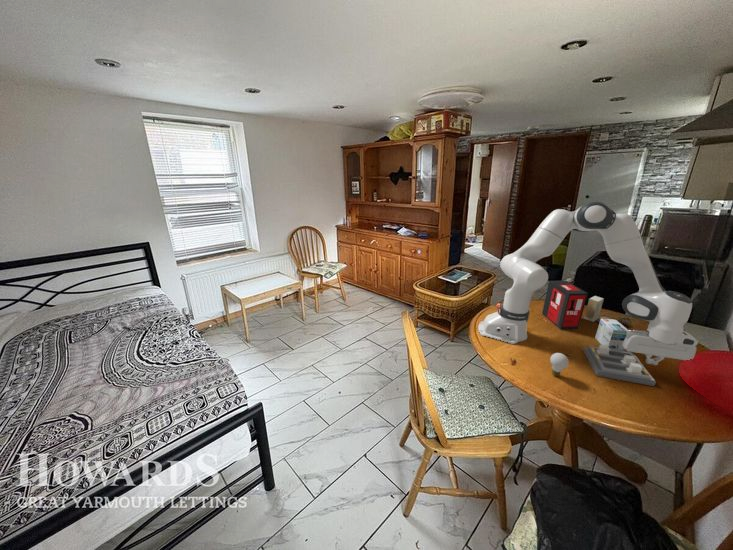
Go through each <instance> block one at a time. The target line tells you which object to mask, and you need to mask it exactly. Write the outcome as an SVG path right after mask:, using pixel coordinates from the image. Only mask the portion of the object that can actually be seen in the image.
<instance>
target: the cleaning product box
mask: <svg viewBox="0 0 733 550" xmlns="http://www.w3.org/2000/svg"><path fill="white" fill-rule="evenodd" d="M588 295H589V293H588V292H586V291H584V290H583V289H582V288H580V287H577V286H576V285H575V284H573V283H571V282H569V281H567V280H549V281H548V284H547V289H546V293H545V299H544V302H543V307H542V312H541V314H542V315H543V316H544V317H545V318H546V317H547V318H548V321H550V322H551V323H552V324H553V325H554V326H556V328H557V329H559V330H560V331H561V330H562V331H563V330H565V331H566V330H579V328H580V324H581V320H582V316H583V313H584V309H585V306H586V301H587V298H588ZM547 318H546V319H547Z"/></svg>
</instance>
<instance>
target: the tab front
mask: <svg viewBox="0 0 733 550" xmlns="http://www.w3.org/2000/svg"><path fill="white" fill-rule="evenodd" d="M626 370H627V372H633V373H638V374H642V373H641V371H642V366H641V365H640V364H638V363H632V362H631V363H630V365H629V368H627V367H626Z"/></svg>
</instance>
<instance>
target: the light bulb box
mask: <svg viewBox="0 0 733 550" xmlns="http://www.w3.org/2000/svg"><path fill="white" fill-rule="evenodd" d="M628 331H630V329H628V328H627V327H626V326H625V325H623V324H622V323H620V322H619V321H618V320H617V319H613V318H611V319H609V318H600V320H599V324H598V327H597V329H596V333H595V337H594V338H595V340H596V341H598V343H599V345H605V346H608V347H609V349H613V350H619V351H625V349H624V347H623V345H622V344H623V341H624V339H625V338H626V335H627V332H628Z"/></svg>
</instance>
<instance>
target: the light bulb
mask: <svg viewBox="0 0 733 550" xmlns="http://www.w3.org/2000/svg"><path fill="white" fill-rule="evenodd" d="M549 360H550V364H551V370H552V371H551V374H552V375H553V376H555V377H559V376H560V375H561V372H562V371H563V370H564V369H566V368H567V367H568V365H569V359H568V357H567V356H566V355H565V354H563V353H561V352H555V353H552V354H551V356H550V358H549Z"/></svg>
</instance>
